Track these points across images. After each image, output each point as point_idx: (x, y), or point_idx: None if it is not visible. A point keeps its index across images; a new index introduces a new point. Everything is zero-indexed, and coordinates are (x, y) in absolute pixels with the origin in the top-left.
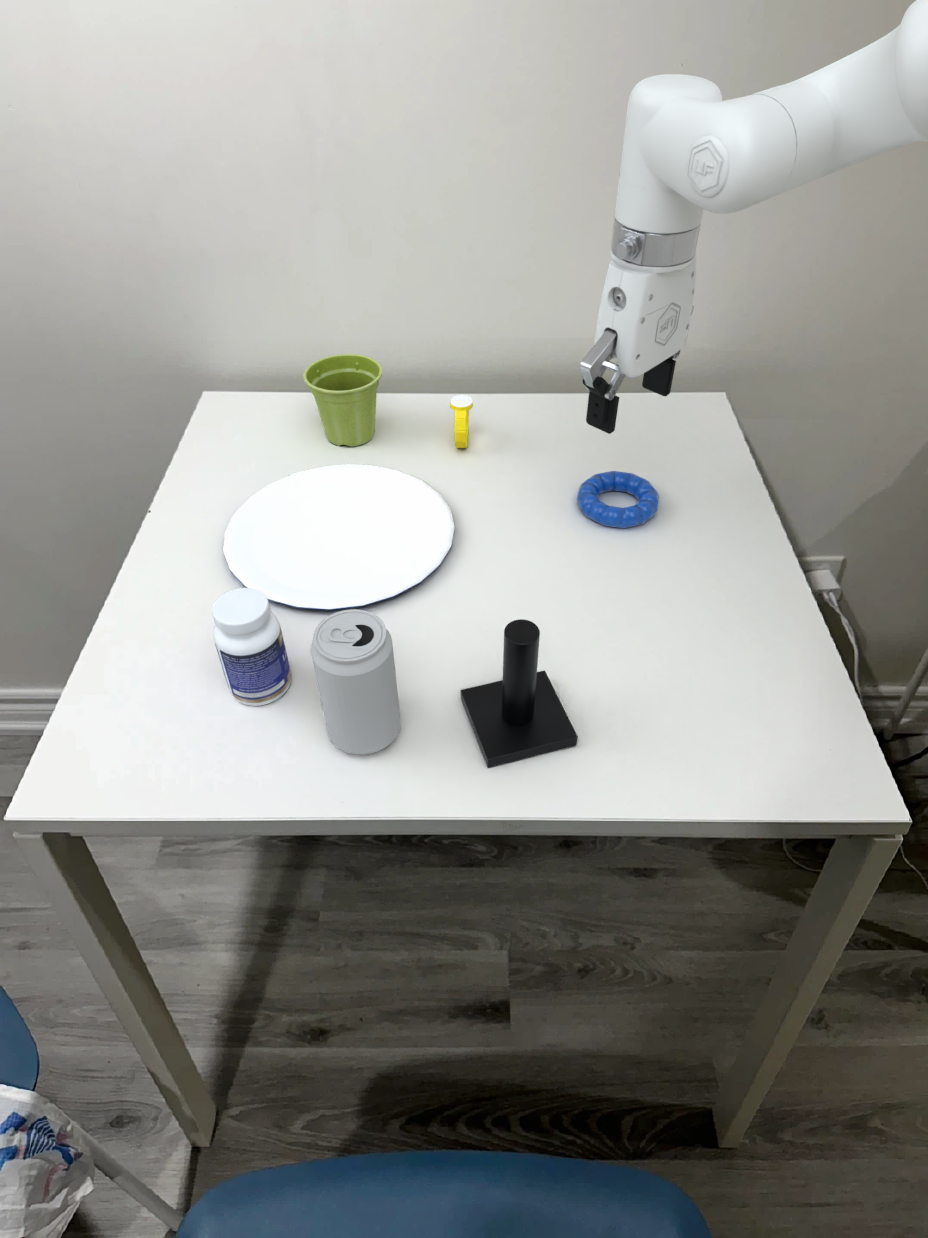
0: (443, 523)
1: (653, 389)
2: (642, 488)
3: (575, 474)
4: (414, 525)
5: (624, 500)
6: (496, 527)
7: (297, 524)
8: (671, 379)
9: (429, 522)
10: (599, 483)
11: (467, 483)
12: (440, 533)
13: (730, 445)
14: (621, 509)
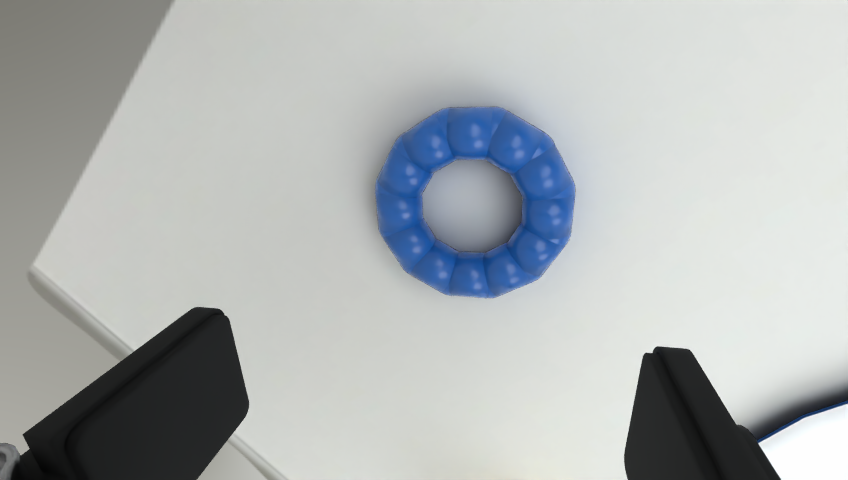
0: (808, 440)
1: (233, 370)
2: (416, 180)
3: (438, 326)
4: (822, 473)
5: (440, 202)
6: (713, 352)
7: None
8: (142, 353)
9: (802, 458)
10: (469, 268)
11: (609, 458)
12: (844, 428)
13: (116, 142)
14: (533, 167)
